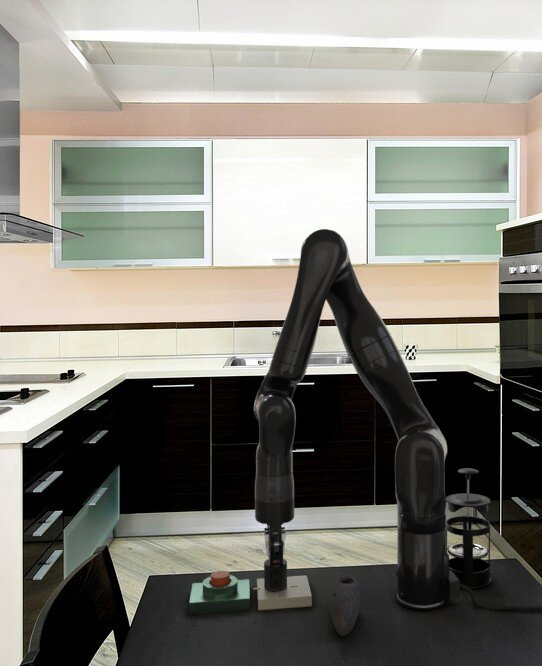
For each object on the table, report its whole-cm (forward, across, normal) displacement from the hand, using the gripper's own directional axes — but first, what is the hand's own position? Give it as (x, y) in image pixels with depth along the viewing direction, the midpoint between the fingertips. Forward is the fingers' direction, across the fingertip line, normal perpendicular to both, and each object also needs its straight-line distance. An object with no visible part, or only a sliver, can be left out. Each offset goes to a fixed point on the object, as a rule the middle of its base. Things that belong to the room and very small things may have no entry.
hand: (275, 581), depth 131 cm
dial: (+1, 0, 0) cm, 1 cm away
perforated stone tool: (+3, -13, -12) cm, 18 cm away
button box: (+3, 0, +10) cm, 11 cm away
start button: (0, 0, +10) cm, 10 cm away
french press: (+3, +2, -40) cm, 40 cm away
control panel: (+3, 0, -2) cm, 3 cm away
